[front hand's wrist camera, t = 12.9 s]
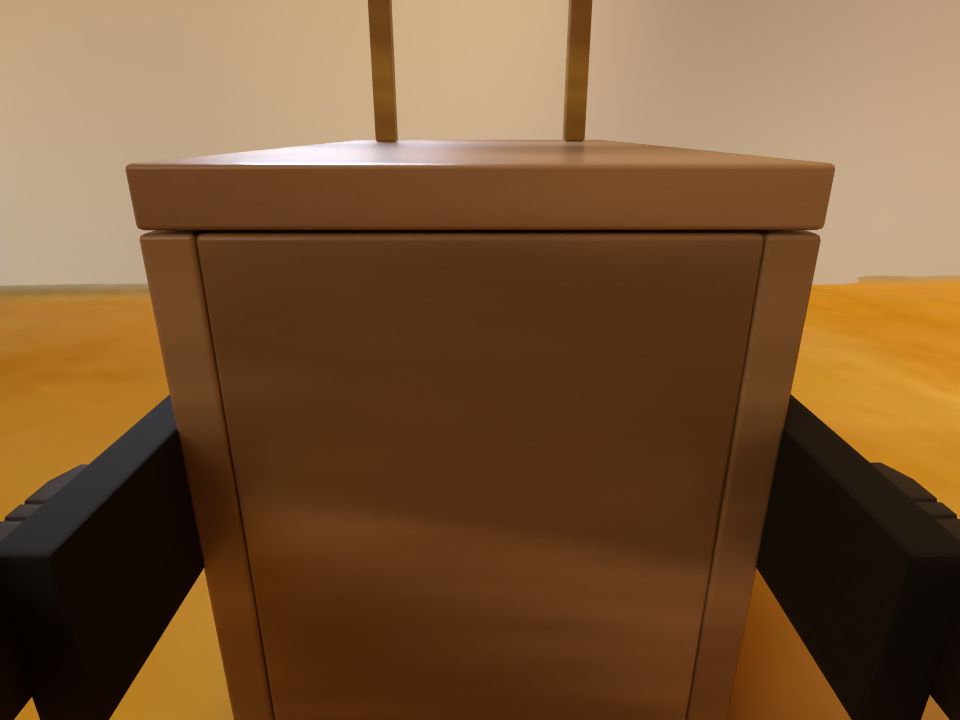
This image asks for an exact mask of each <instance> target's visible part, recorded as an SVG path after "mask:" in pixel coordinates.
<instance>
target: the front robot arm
mask: <svg viewBox="0 0 960 720" xmlns="http://www.w3.org/2000/svg"><path fill="white" fill-rule="evenodd" d="M203 568H204V564H203V559H202V554H201V549H200V544H199V539H198V534H197V529H196V524H195V519H194V514H193V509H192V503H191V498H190V493H189V488H188V483H187V478H186V473H185V468H184V463H183V458H182V452H181V447H180V442H179V437H178V432H177V427H176V422H175V417H174V412H173V407H172V402H171V397H170V395H169V396H168V397H166V398H165V399H164V400H163V401H162V402H161V403H159V404H158V405H157V406H156V407H155V408H154V409H153V410H151V411H150V412H149V413H148V414H147V415H146V416H144V417H143V418H142V419H141V420H140V421H139V422H137V423H136V424H135V425H134V426H133V427H132V428H131V429H129V430H128V431H127V432H126V433H125V434H124V435H122V436H121V437H120V438H119V439H118V440H117V441H116V442H114V443H113V444H112V445H111V446H110V447H109V448H107V449H106V450H105V451H104V452H103V453H102V454H101V455H99V456H98V457H97V458H96V459H95V460H94V461H92V462H91V463H90V464H89V465H79V466H77V467H75V468H73V469H72V470H70V471H68V472H66V473H64V474H62V475H60V476H58V477H56V478H54V479H52V480H50V481H48V482H47V483H46V484H45V485H43V486H42V487H41V488H40V489H39V490H37V491H36V492H35V493H34V494H32V495H31V496H30V497H29V498H28V499H26V500H25V504H24V505H19V506H18V507H17V508H15V509H14V510H13V511H12V512H11V513H9V514H8V515H7V516H6V517H5V521H0V720H14V719H15V718H16V716H17V715H18V714H19V712H20V711H21V710H22V709H23V707H24V706H25V705H26V704H27V702H28V701H29V700H30V698H31V697H32V698H33V701H34V704H35V706H36V709H37V712H38V715H39V718H40V720H109V719H110V717H111V716H112V714H113V713H114V711H115V709H116V708H117V706H118V705H119V703H120V701H121V700H122V698H123V697H124V695H125V693H126V692H127V690H128V689H129V687H130V685H131V684H132V682H133V680H134V679H135V677H136V676H137V674H138V672H139V671H140V669H141V668H142V666H143V664H144V663H145V661H146V660H147V658H148V656H149V655H150V653H151V652H152V650H153V648H154V647H155V645H156V644H157V642H158V640H159V639H160V637H161V636H162V634H163V632H164V631H165V629H166V628H167V626H168V624H169V623H170V621H171V620H172V618H173V616H174V615H175V613H176V612H177V610H178V608H179V607H180V605H181V604H182V602H183V600H184V599H185V597H186V596H187V594H188V592H189V591H190V589H191V588H192V586H193V584H194V583H195V581H196V580H197V578H198V576H199V575H200V573H201V572H202V570H203ZM757 569H758V571H759V572H760V574H761V575H762V577H763V579H764V580H765V582H766V583H767V585H768V587H769V588H770V590H771V591H772V593H773V595H774V596H775V598H776V599H777V601H778V603H779V604H780V606H781V607H782V609H783V611H784V612H785V614H786V615H787V617H788V619H789V620H790V622H791V623H792V625H793V627H794V628H795V630H796V631H797V633H798V635H799V636H800V638H801V639H802V641H803V643H804V644H805V646H806V647H807V649H808V651H809V652H810V654H811V655H812V657H813V659H814V660H815V662H816V663H817V665H818V667H819V668H820V670H821V671H822V673H823V675H824V676H825V678H826V679H827V681H828V683H829V684H830V686H831V687H832V689H833V691H834V692H835V694H836V695H837V697H838V699H839V700H840V702H841V703H842V705H843V707H844V708H845V710H846V711H847V713H848V715H849V716H850V718H851V719H852V720H921V717H922V715H923V712H924V709H925V706H926V703H927V700H928V698H929V695H931V697H932V698H933V699H934V700H935V702H936V703H937V704H938V705H939V707H940V708H941V709H942V710H943V712H944V713H945V714H946V716H947V717H948V718H949V719H950V720H960V519H957V515H956V514H955V513H954V512H953V511H951V510H950V509H949V508H948V507H946V506H945V505H944V504H943V503H942V502H937V498H935V497H934V496H933V495H932V494H931V493H929V492H928V491H927V490H926V489H924V488H923V487H922V486H921V485H920V484H918V483H917V482H916V481H915V480H913V479H912V478H910V477H908V476H906V475H904V474H902V473H900V472H898V471H896V470H894V469H892V468H890V467H888V466H886V465H884V464H882V463H869V462H868V461H867V460H866V459H865V458H864V457H863V456H861V455H860V454H859V453H858V452H857V451H856V450H854V449H853V448H852V447H851V446H850V445H849V444H848V443H846V442H845V441H844V440H843V439H842V438H841V437H839V436H838V435H837V434H836V433H835V432H834V431H833V430H831V429H830V428H829V427H828V426H827V425H826V424H824V423H823V422H822V421H821V420H820V419H819V418H817V417H816V416H815V415H814V414H813V413H812V412H811V411H809V410H808V409H807V408H806V407H805V406H804V405H802V404H801V403H800V402H799V401H798V400H797V399H796V398H794V397H793V396H792V395H791V394H790V399H789V404H788V409H787V414H786V419H785V424H784V429H783V434H782V439H781V444H780V450H779V455H778V460H777V465H776V470H775V475H774V480H773V485H772V490H771V496H770V501H769V506H768V511H767V516H766V521H765V526H764V531H763V536H762V541H761V547H760V552H759V557H758V562H757Z"/></svg>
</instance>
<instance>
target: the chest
mask: <svg viewBox="0 0 960 720" xmlns="http://www.w3.org/2000/svg"><path fill="white" fill-rule="evenodd" d="M140 244H141V249H142V254H143V259H144V265H145V270H146V275H147V280H148V285H149V290H150V295H151V300H152V305H153V310H154V315H155V320H156V326H157V331H158V336H159V341H160V346H161V351H162V356H163V361H164V366H165V371H166V376H167V381H168V387H169V392H170V397H171V402H172V407H173V412H174V417H175V422H176V427H177V432H178V437H179V442H180V447H181V452H182V458H183V463H184V468H185V473H186V478H187V483H188V488H189V493H190V498H191V503H192V509H193V514H194V519H195V524H196V529H197V534H198V539H199V544H200V549H201V554H202V559H203V564H204V570H205V575H206V580H207V585H208V590H209V595H210V600H211V605H212V610H213V615H214V620H215V625H216V631H217V636H218V641H219V646H220V651H221V656H222V661H223V666H224V671H225V676H226V681H227V686H228V692H229V697H230V702H231V707H232V712H233V717H234V720H727V715H728V710H729V705H730V700H731V694H732V689H733V684H734V679H735V674H736V669H737V664H738V659H739V654H740V649H741V643H742V638H743V633H744V628H745V623H746V618H747V613H748V608H749V603H750V598H751V592H752V587H753V582H754V577H755V572H756V567H757V562H758V557H759V552H760V547H761V541H762V536H763V531H764V526H765V521H766V516H767V511H768V506H769V501H770V496H771V490H772V485H773V480H774V475H775V470H776V465H777V460H778V455H779V450H780V444H781V439H782V434H783V429H784V424H785V419H786V414H787V409H788V404H789V399H790V393H791V388H792V383H793V378H794V373H795V368H796V363H797V358H798V353H799V348H800V342H801V337H802V332H803V327H804V322H805V317H806V312H807V307H808V302H809V297H810V291H811V286H812V281H813V276H814V271H815V266H816V261H817V256H818V251H819V246H820V236H819V235H817V234H815V233H812V232H809V231H806V230H155V231H152V232H149V233H146V234H143V235H141V236H140Z"/></svg>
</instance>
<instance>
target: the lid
mask: <svg viewBox="0 0 960 720" xmlns="http://www.w3.org/2000/svg"><path fill="white" fill-rule="evenodd" d="M368 11H369V28H370V45H371V63H372V81H373V98H374V115H375V133H376V140H356V141H346V142H337V143H327V144H317V145H307V146H298V147H288V148H278V149H269V150H259V151H249V152H239V153H230V154H220V155H210V156H200V157H191V158H181V159H171V160H161V161H152V162H142V163H132V164H129V165H127V166H126V174H127V179H128V184H129V189H130V194H131V199H132V204H133V209H134V214H135V220H136V225H137V227H138V228H139V229H142V230H818V229H821V228H823V226H824V223H825V218H826V213H827V207H828V202H829V197H830V192H831V187H832V182H833V177H834V172H835V167H834V165H832V164H830V163H822V162H812V161H802V160H792V159H782V158H772V157H763V156H753V155H743V154H733V153H723V152H714V151H704V150H694V149H684V148H674V147H664V146H654V145H645V144H635V143H625V142H615V141H605V140H584V138H585V120H586V103H587V85H588V67H589V49H590V31H591V14H592V0H569V13H568V35H567V58H566V80H565V102H564V125H563V140H398V135H397V113H396V91H395V69H394V47H393V24H392V3H391V0H368Z"/></svg>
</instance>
